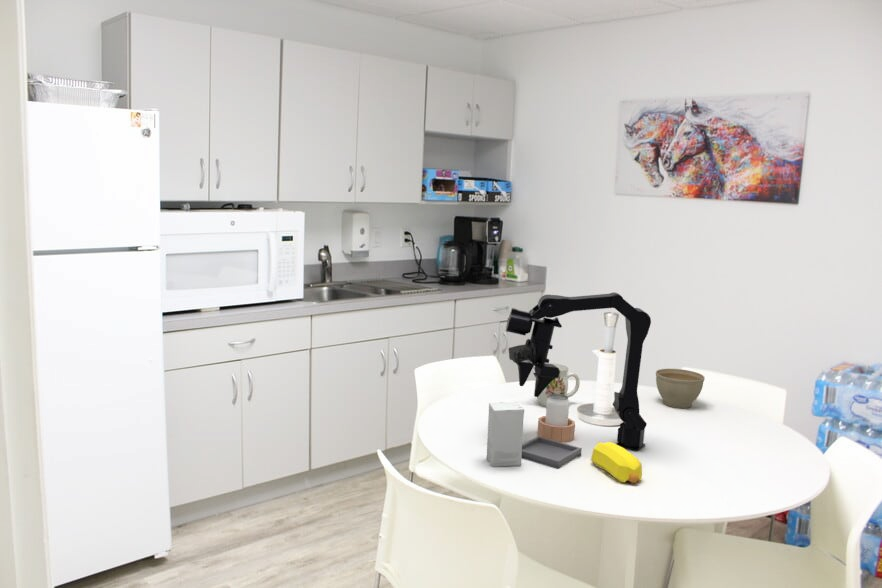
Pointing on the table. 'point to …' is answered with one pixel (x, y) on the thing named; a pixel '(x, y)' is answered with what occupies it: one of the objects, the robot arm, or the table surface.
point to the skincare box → (505, 434)
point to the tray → (549, 452)
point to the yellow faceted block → (617, 462)
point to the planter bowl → (679, 386)
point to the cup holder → (556, 430)
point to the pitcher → (558, 385)
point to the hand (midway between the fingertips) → (528, 391)
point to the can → (557, 410)
